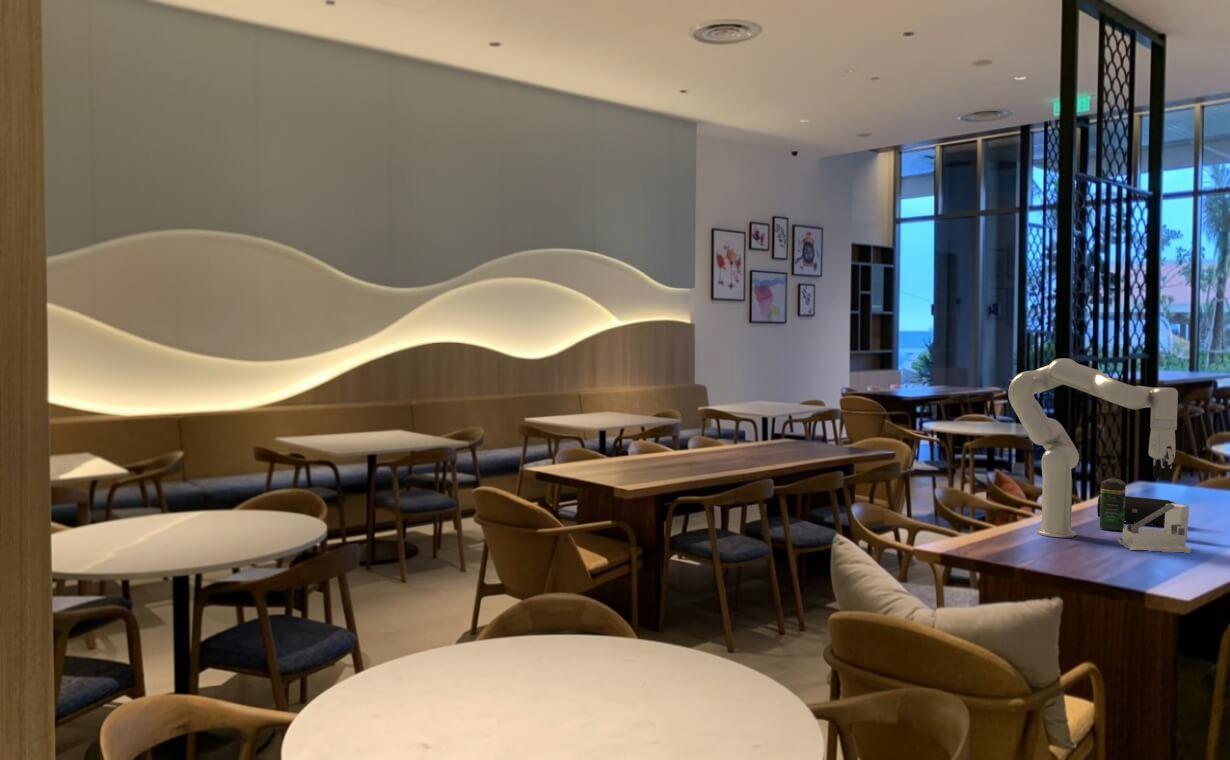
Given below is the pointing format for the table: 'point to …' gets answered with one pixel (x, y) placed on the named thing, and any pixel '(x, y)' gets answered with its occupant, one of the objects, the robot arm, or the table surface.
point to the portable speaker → (1141, 509)
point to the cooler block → (1155, 539)
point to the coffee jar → (1112, 504)
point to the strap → (1152, 516)
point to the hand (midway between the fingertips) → (1161, 478)
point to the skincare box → (1177, 517)
